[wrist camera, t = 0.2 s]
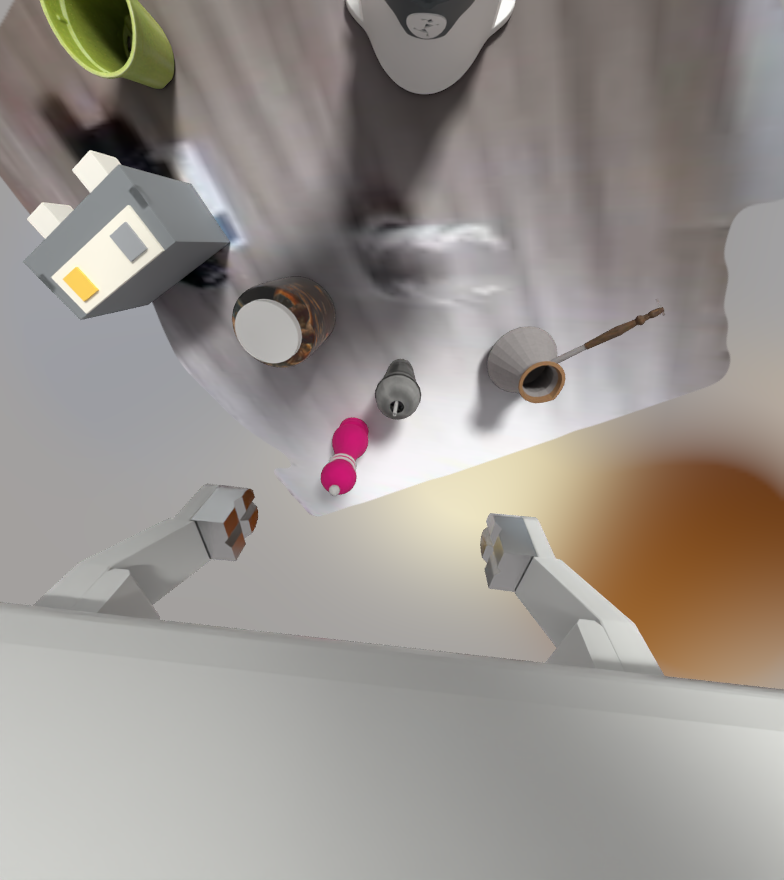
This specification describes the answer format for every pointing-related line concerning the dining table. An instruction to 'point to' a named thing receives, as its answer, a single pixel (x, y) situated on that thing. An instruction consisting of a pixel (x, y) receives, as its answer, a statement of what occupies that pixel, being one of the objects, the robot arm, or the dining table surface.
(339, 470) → the pepper mill
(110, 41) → the plant pot
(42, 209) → the button
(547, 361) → the coffee pot
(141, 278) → the console
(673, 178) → the dining table surface
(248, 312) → the jar
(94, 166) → the button
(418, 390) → the beverage cup
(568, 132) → the dining table surface
